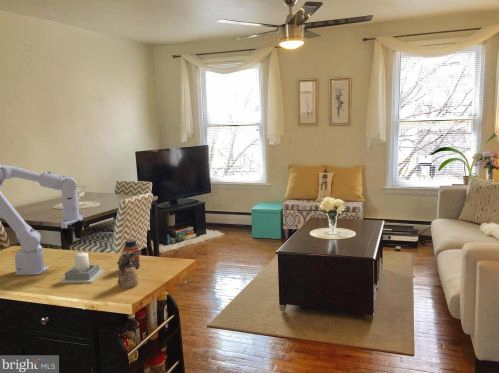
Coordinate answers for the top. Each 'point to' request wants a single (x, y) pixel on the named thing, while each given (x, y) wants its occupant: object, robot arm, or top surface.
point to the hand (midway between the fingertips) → (74, 241)
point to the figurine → (127, 271)
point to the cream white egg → (81, 262)
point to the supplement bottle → (134, 248)
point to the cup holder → (82, 275)
